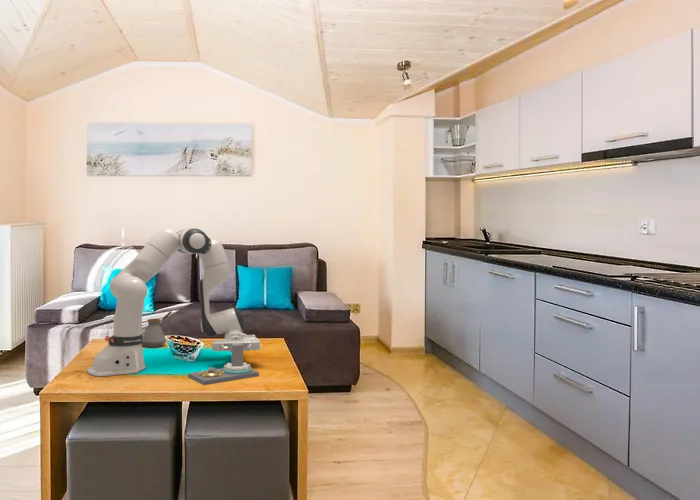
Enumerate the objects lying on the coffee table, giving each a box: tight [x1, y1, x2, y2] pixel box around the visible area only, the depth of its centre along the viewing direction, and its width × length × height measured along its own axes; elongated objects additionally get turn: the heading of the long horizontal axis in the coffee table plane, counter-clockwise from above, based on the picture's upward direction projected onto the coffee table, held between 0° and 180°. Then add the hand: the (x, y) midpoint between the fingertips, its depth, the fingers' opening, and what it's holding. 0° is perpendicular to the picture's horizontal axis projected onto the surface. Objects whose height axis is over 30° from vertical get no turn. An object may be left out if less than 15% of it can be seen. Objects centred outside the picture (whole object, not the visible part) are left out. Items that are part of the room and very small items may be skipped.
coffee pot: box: [143, 311, 174, 348], centre depth 303 cm, size 21×12×15 cm, turn 164°
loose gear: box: [223, 343, 251, 372], centre depth 248 cm, size 10×10×10 cm
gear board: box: [187, 366, 260, 386], centre depth 245 cm, size 24×14×4 cm, turn 129°
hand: (236, 349), depth 253 cm, fingers open, 8 cm apart
